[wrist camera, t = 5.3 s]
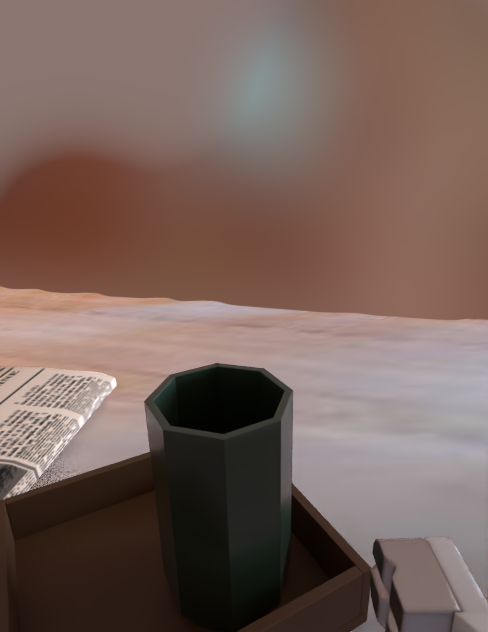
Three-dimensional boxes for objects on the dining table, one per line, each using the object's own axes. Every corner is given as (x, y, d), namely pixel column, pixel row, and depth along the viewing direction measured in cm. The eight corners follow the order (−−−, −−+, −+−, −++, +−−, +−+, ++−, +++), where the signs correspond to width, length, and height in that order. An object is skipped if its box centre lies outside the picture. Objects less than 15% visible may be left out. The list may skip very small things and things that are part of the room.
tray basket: (237, 462, 37) (236, 423, 35) (367, 620, 24) (372, 568, 23) (6, 547, 29) (-6, 501, 28) (17, 843, 16) (-6, 784, 15)
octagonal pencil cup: (251, 514, 30) (247, 355, 26) (310, 595, 25) (317, 408, 21) (154, 556, 27) (133, 383, 23) (196, 659, 22) (178, 455, 18)
